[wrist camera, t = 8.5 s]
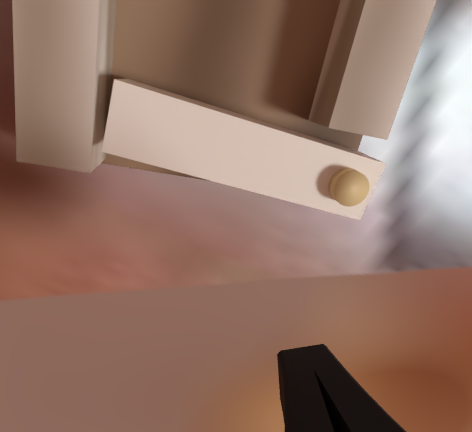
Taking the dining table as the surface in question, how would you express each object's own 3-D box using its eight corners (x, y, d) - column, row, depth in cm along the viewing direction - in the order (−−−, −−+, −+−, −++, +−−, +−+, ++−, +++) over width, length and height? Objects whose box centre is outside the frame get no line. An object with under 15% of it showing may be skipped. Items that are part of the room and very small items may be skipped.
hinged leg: (358, 150, 16) (394, 167, 13) (336, 200, 17) (366, 225, 14) (127, 78, 14) (110, 79, 11) (116, 139, 14) (97, 155, 12)
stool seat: (425, -133, 14) (523, -221, 10) (326, 189, 19) (363, 221, 15) (61, -269, 11) (-14, -463, 7) (55, 144, 16) (9, 167, 12)
